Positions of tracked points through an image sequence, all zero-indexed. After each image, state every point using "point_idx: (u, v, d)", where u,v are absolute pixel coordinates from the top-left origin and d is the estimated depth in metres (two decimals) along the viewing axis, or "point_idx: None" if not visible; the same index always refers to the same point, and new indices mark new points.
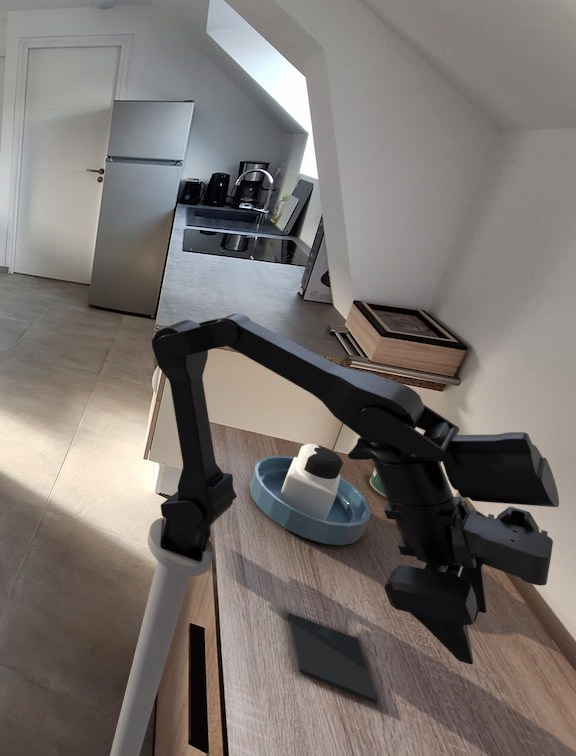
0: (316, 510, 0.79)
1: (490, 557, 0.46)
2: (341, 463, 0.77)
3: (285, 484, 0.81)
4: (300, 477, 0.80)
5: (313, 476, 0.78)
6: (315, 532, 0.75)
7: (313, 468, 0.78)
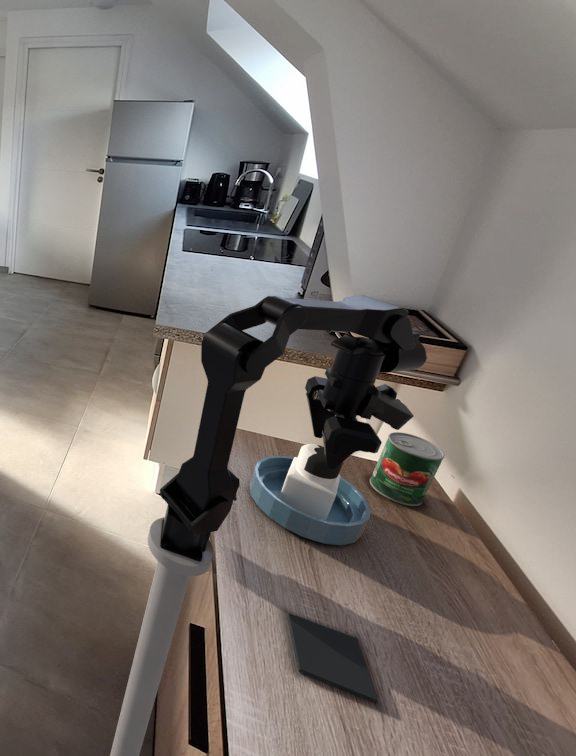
0: (316, 510, 0.79)
1: (382, 414, 0.71)
2: (341, 463, 0.77)
3: (285, 484, 0.81)
4: (300, 477, 0.80)
5: (313, 476, 0.78)
6: (315, 532, 0.75)
7: (313, 468, 0.78)
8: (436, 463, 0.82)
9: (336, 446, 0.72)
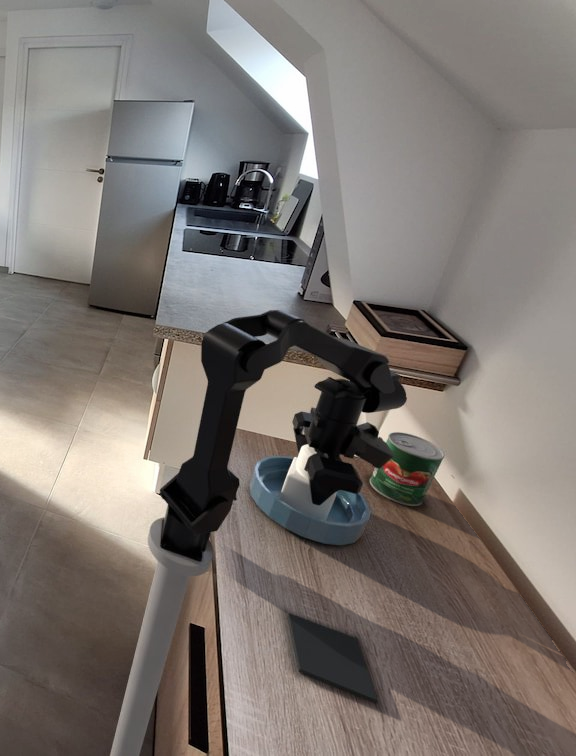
0: (316, 510, 0.79)
1: (364, 453, 0.74)
2: None
3: (285, 483, 0.81)
4: (300, 477, 0.80)
5: None
6: (315, 532, 0.75)
7: None
8: (436, 463, 0.82)
9: (320, 484, 0.75)
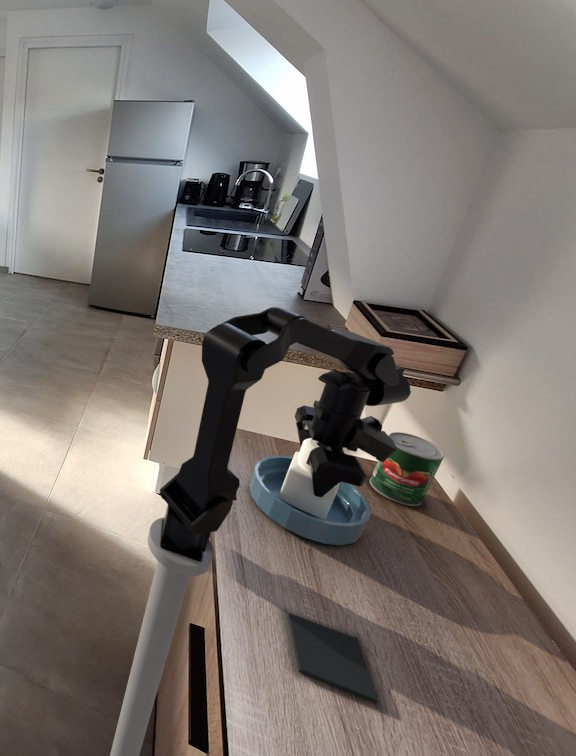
0: (318, 504, 0.78)
1: (368, 446, 0.74)
2: None
3: (286, 477, 0.81)
4: (302, 471, 0.79)
5: None
6: (315, 532, 0.75)
7: None
8: (436, 463, 0.82)
9: None
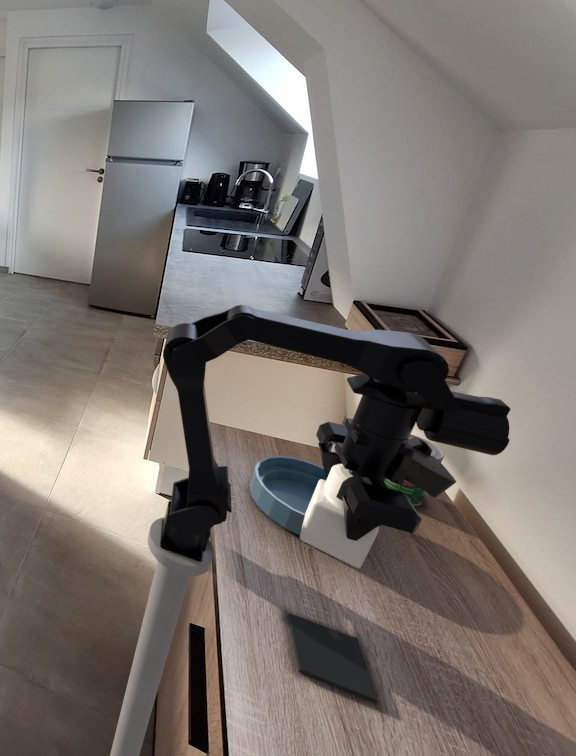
0: (351, 549, 0.62)
1: (417, 478, 0.58)
2: None
3: (311, 514, 0.64)
4: (331, 507, 0.63)
5: None
6: None
7: None
8: None
9: None
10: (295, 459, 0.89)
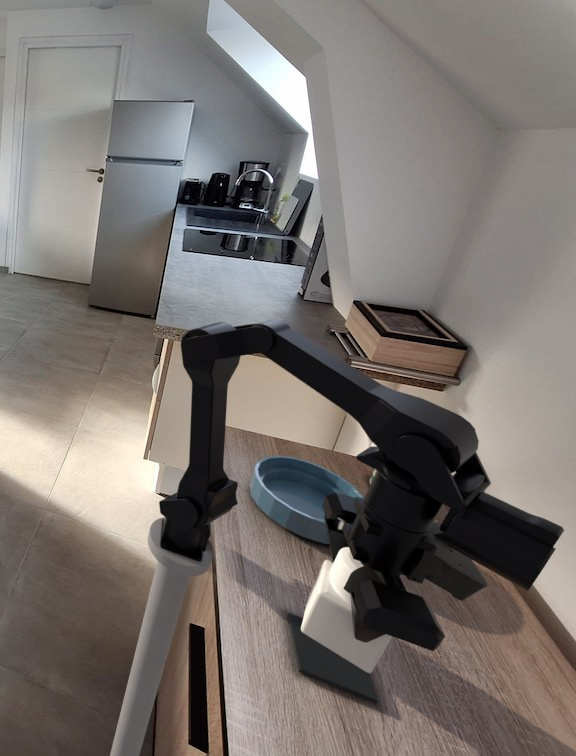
0: (361, 651, 0.53)
1: (440, 577, 0.49)
2: None
3: (314, 605, 0.56)
4: (337, 599, 0.54)
5: None
6: (315, 532, 0.75)
7: None
8: None
9: None
10: (295, 459, 0.89)
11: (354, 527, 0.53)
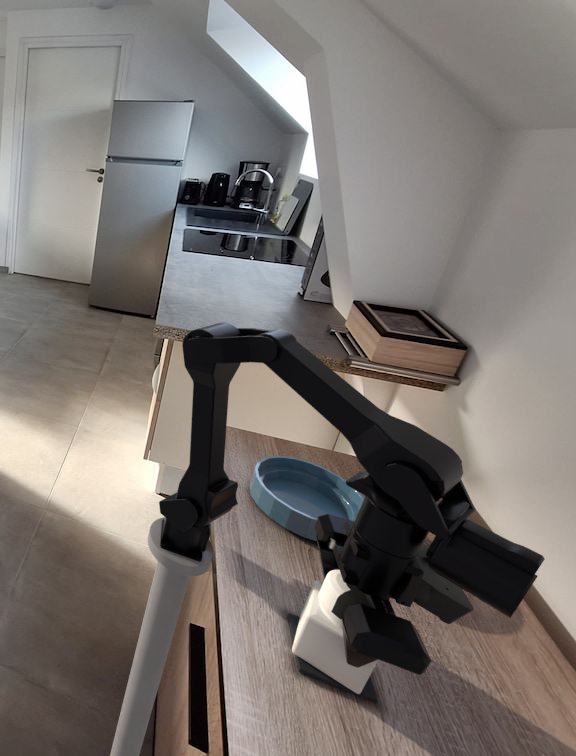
0: (349, 672, 0.55)
1: (427, 601, 0.50)
2: None
3: (303, 627, 0.57)
4: (326, 622, 0.56)
5: None
6: (315, 532, 0.75)
7: None
8: None
9: None
10: (295, 459, 0.89)
11: (344, 550, 0.54)
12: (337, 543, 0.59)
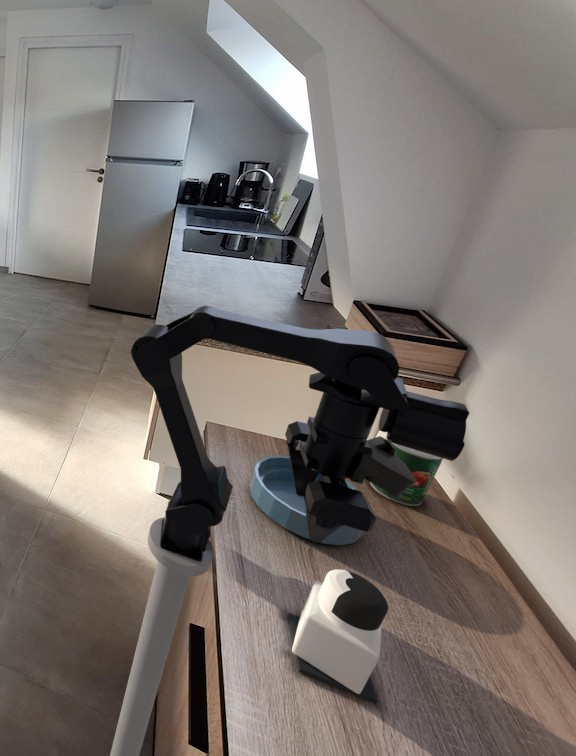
0: (349, 672, 0.55)
1: (377, 477, 0.57)
2: (386, 608, 0.53)
3: (303, 627, 0.57)
4: (326, 622, 0.56)
5: (346, 624, 0.54)
6: None
7: (346, 613, 0.54)
8: (436, 463, 0.82)
9: None
10: None
11: (307, 441, 0.62)
12: None
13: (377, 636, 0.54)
